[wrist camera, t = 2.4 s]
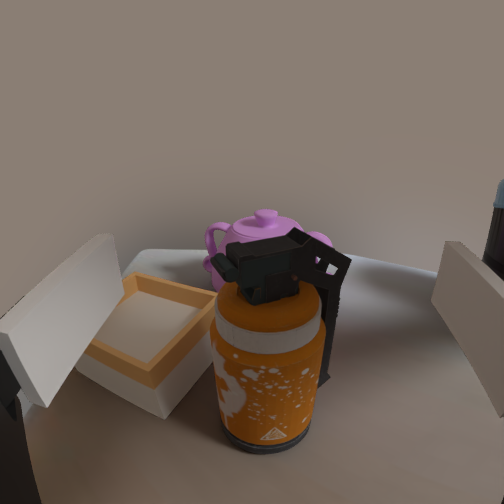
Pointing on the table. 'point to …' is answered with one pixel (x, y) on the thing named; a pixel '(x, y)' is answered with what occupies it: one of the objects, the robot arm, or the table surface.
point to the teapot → (250, 235)
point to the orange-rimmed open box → (152, 343)
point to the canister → (273, 336)
